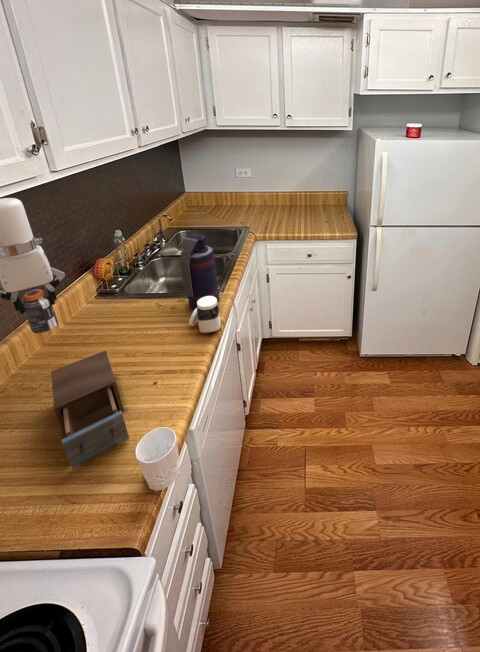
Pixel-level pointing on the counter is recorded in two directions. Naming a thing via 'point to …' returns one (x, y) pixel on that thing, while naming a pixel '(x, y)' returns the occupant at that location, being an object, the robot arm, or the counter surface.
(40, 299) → the pill bottle
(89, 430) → the drawer
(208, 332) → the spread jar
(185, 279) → the navy water bottle
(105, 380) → the cabinet
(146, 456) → the white cup
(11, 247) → the robot arm
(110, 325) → the counter surface
